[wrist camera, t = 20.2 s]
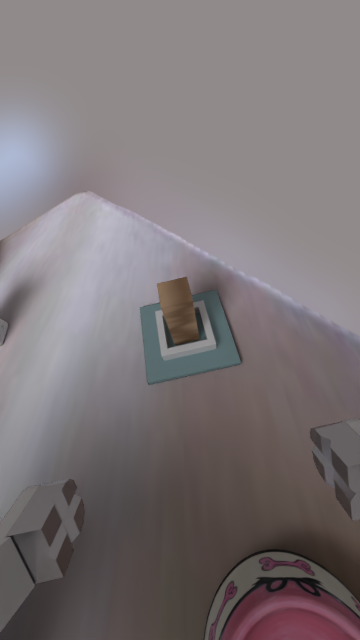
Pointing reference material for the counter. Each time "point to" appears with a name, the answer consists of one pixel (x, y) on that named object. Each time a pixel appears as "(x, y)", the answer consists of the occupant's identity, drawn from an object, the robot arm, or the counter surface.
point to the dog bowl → (282, 601)
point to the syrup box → (3, 330)
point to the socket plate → (193, 356)
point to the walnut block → (178, 310)
